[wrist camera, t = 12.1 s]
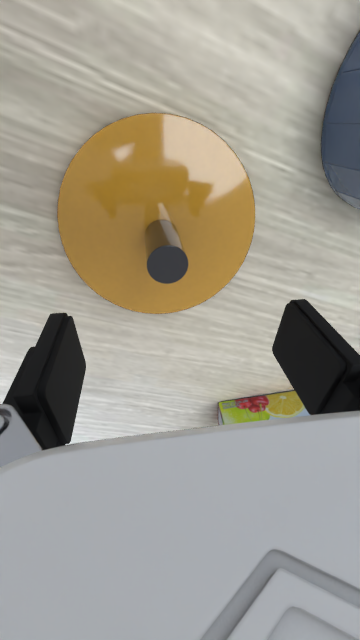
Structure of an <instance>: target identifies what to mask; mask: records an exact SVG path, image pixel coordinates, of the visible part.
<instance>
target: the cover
mask: <svg viewBox="0 0 360 640" xmlns="http://www.w3.org/2000/svg"><path fill="white" fill-rule="evenodd" d="M57 218H58V227H59V233H60V237H61V241H62V244H63V247H64V250H65V252H66V255H67V257H68V259H69V261H70V262H71V264H72V266H73V268H74V269H75V270H76V272H77V273H78V275H79V276H80V277H81V278H82V279H83V281H84V282H85V283H86V284H87V285H88V286H89V287H90V288H91V289H93V290H94V291H95V292H96V293H97V294H99V295H100V296H102V297H103V298H105V299H106V300H108V301H110V302H112V303H114V304H115V305H118V306H120V307H123V308H125V309H129V310H132V311H136V312H142V313H152V314H162V313H172V312H178V311H182V310H185V309H188V308H191V307H194V306H196V305H198V304H200V303H202V302H204V301H206V300H208V299H209V298H211V297H212V296H214V295H215V294H216V293H218V292H219V291H220V290H221V289H222V288H223V287H224V286H225V285H226V284H227V283H228V282H229V281H230V280H231V279H232V278H233V276H234V275H235V274H236V273H237V271H238V270H239V268H240V266H241V265H242V263H243V261H244V259H245V257H246V255H247V253H248V250H249V247H250V244H251V241H252V237H253V232H254V224H255V203H254V196H253V191H252V187H251V184H250V181H249V178H248V175H247V173H246V171H245V169H244V167H243V165H242V163H241V162H240V160H239V158H238V157H237V155H236V154H235V152H234V151H233V150H232V149H231V148H230V147H229V145H228V144H227V143H226V142H225V141H224V140H223V139H222V138H220V137H219V136H218V135H217V134H216V133H214V132H213V131H212V130H210V129H208V128H207V127H205V126H203V125H202V124H200V123H198V122H195V121H193V120H190V119H188V118H186V117H181V116H177V115H173V114H165V113H146V114H137V115H134V116H130V117H126V118H123V119H120V120H118V121H116V122H114V123H112V124H110V125H108V126H106V127H104V128H103V129H101V130H100V131H99V132H97V133H96V134H94V135H93V136H92V137H91V138H90V139H89V140H88V141H87V142H86V143H85V144H84V145H83V146H82V147H81V148H80V150H79V151H78V152H77V154H76V155H75V156H74V158H73V159H72V161H71V163H70V165H69V167H68V169H67V171H66V173H65V175H64V178H63V181H62V184H61V187H60V193H59V198H58V212H57Z"/></svg>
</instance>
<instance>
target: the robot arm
mask: <svg viewBox="0 0 360 640" xmlns="http://www.w3.org/2000/svg"><path fill="white" fill-rule="evenodd" d="M272 351H273V354H274V356H275V358H276V359H277V361H278V363H279V364H280V366H281V368H282V369H283V371H284V373H285V375H286V376H287V378H288V380H289V381H290V383H291V385H292V386H293V388H294V390H295V391H296V393H297V395H298V396H299V398H300V400H301V402H302V403H303V405H304V407H305V408H306V410H307V412H308V413H309V414H310V415H309V416H299V417H290V418H281V419H272V420H263V421H254V422H245V423H236V424H228V425H219V426H210V427H202V428H193V429H184V430H176V431H168V432H159V433H151V434H143V435H134V436H126V437H118V438H111V439H104V440H96V441H89V442H82V443H76V444H70V445H65V444H69V443H70V441H71V437H72V432H73V427H74V423H75V418H76V413H77V408H78V403H79V399H80V394H81V389H82V384H83V380H84V375H85V370H86V363H85V359H84V355H83V352H82V348H81V345H80V341H79V338H78V335H77V331H76V328H75V324H74V321H73V318H72V316H68V315H67V314H66V313H54V314H50V316H49V318H48V320H47V322H46V324H45V326H44V329H43V331H42V333H41V335H40V337H39V340H38V342H37V344H36V346H35V347H31V348H30V349H29V350H28V352H27V354H26V356H25V358H24V360H23V362H22V364H21V366H20V368H19V371H18V373H17V375H16V377H15V379H14V381H13V383H12V385H11V387H10V389H9V391H8V393H7V396H6V398H5V400H4V402H3V404H0V640H360V355H359V354H358V353H357V352H356V351H355V350H354V349H353V348H352V347H351V346H350V345H349V344H348V343H347V342H346V341H345V340H344V339H343V337H342V336H341V335H340V334H339V333H338V332H337V331H336V330H335V329H334V328H333V327H332V326H331V325H330V324H329V323H328V322H327V321H326V320H325V319H324V318H323V317H322V316H321V315H320V314H319V313H318V312H317V310H316V309H315V308H314V307H313V306H312V305H311V304H310V303H309V302H308V301H307V300H305V299H300V300H291V301H290V303H288V304H287V305H286V307H285V310H284V313H283V316H282V319H281V322H280V325H279V328H278V332H277V335H276V338H275V341H274V344H273V347H272Z"/></svg>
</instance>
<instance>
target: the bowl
mask: <svg viewBox="0 0 360 640" xmlns="http://www.w3.org/2000/svg"><path fill="white" fill-rule="evenodd" d="M321 153H322V162H323V167H324V171H325V175H326V177H327V179H328V182H329V184H330V186H331V187H332V189H333V190H334V192H335V193H336V194H337V195H338V196H339V197H340V198H341V199H342V200H344V201H346V202H347V203H349V204H350V205H351V206H353V207H355V208H357V209H360V32H359V33H358V35H357V37H356V38H355V40H354V42H353V44H352V45H351V47H350V49H349V51H348V53H347V55H346V57H345V59H344V61H343V63H342V65H341V67H340V69H339V72H338V74H337V77H336V79H335V82H334V84H333V87H332V90H331V93H330V96H329V100H328V103H327V107H326V111H325V116H324V121H323V128H322V137H321Z"/></svg>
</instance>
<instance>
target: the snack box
mask: <svg viewBox="0 0 360 640" xmlns="http://www.w3.org/2000/svg"><path fill="white" fill-rule="evenodd" d="M309 415H310V414H309V413H308V412H307V410H306V408H305V407H304V405H303V403H302V402H301V400H300V398H299V396H298V395H297V393H296V391H289V392H283V393H276V394H270V395H263V396H256V397H250V398H243V399H236V400H230V401H223V402H219V403H218V424H219V425H228V424H236V423H245V422H254V421H263V420H272V419H281V418H290V417H299V416H309Z"/></svg>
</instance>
